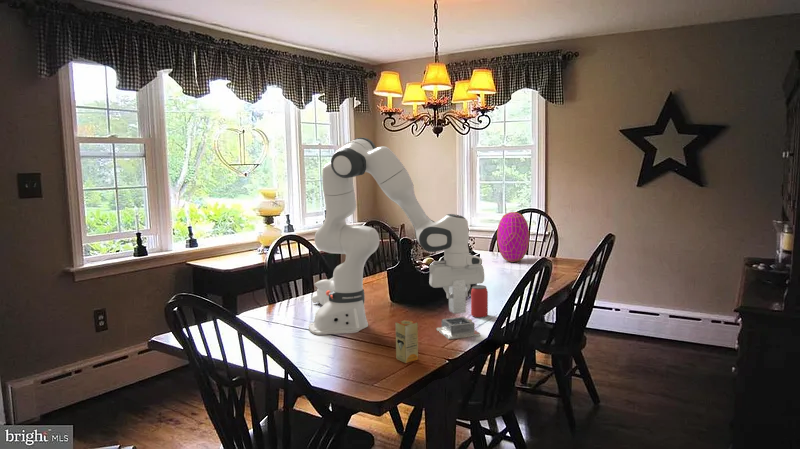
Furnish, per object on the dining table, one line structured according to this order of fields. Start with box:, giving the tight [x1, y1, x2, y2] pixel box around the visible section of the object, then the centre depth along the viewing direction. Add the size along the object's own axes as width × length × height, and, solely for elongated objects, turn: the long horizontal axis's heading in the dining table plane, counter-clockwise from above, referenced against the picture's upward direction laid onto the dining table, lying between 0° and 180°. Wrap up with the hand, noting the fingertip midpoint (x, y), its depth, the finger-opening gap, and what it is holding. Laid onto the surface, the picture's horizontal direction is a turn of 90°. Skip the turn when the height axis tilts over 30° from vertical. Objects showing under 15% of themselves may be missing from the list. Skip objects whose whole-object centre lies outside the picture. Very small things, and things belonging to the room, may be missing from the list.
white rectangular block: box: [448, 279, 467, 314], centre depth 203 cm, size 5×5×12 cm
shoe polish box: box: [395, 319, 419, 364], centre depth 179 cm, size 5×5×12 cm
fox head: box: [311, 277, 334, 306], centre depth 248 cm, size 13×17×20 cm
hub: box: [436, 316, 481, 340], centre depth 205 cm, size 12×12×4 cm
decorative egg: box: [496, 211, 530, 263], centre depth 340 cm, size 19×19×30 cm
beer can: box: [470, 284, 489, 319], centre depth 226 cm, size 7×7×12 cm
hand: (457, 297), depth 203 cm, fingers closed on white rectangular block, 5 cm apart
